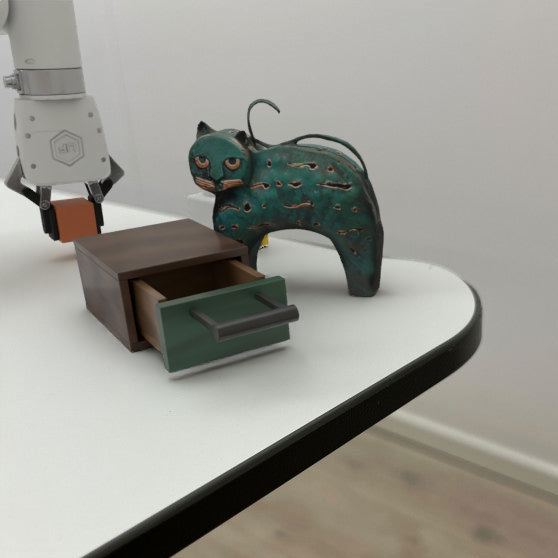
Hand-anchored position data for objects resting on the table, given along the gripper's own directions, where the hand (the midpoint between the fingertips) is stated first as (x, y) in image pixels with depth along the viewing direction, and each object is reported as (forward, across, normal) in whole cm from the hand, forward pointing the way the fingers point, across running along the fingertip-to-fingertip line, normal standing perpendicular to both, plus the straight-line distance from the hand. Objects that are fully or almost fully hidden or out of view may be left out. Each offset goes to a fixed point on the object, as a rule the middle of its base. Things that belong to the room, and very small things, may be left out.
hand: (75, 234), depth 98 cm
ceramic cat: (+2, +16, -29) cm, 34 cm away
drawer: (+2, +1, -40) cm, 40 cm away
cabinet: (+3, +2, -28) cm, 28 cm away
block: (0, 0, 0) cm, 0 cm away
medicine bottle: (+2, +17, -10) cm, 20 cm away
